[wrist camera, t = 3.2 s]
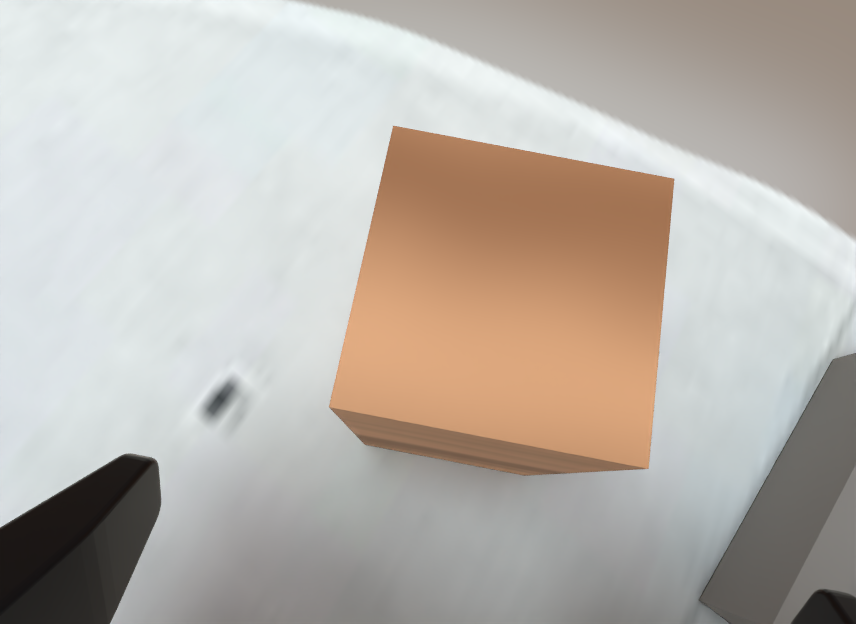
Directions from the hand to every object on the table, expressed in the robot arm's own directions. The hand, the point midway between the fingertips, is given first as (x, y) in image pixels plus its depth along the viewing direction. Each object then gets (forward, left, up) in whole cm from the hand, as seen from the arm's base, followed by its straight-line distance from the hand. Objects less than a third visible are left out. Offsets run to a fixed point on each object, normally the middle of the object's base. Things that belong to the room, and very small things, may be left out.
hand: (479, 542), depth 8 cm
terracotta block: (+4, -1, -11) cm, 11 cm away
